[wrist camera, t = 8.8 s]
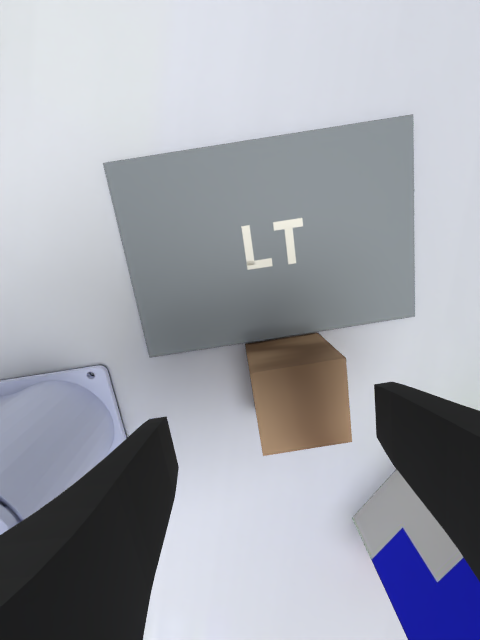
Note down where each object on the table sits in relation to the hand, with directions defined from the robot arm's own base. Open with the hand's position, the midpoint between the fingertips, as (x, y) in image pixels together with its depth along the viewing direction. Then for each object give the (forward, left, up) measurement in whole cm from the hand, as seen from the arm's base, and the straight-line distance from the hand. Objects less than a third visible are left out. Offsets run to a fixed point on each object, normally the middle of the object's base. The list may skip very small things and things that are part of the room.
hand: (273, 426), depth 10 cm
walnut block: (+2, -3, -10) cm, 11 cm away
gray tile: (+2, +6, -10) cm, 12 cm away
